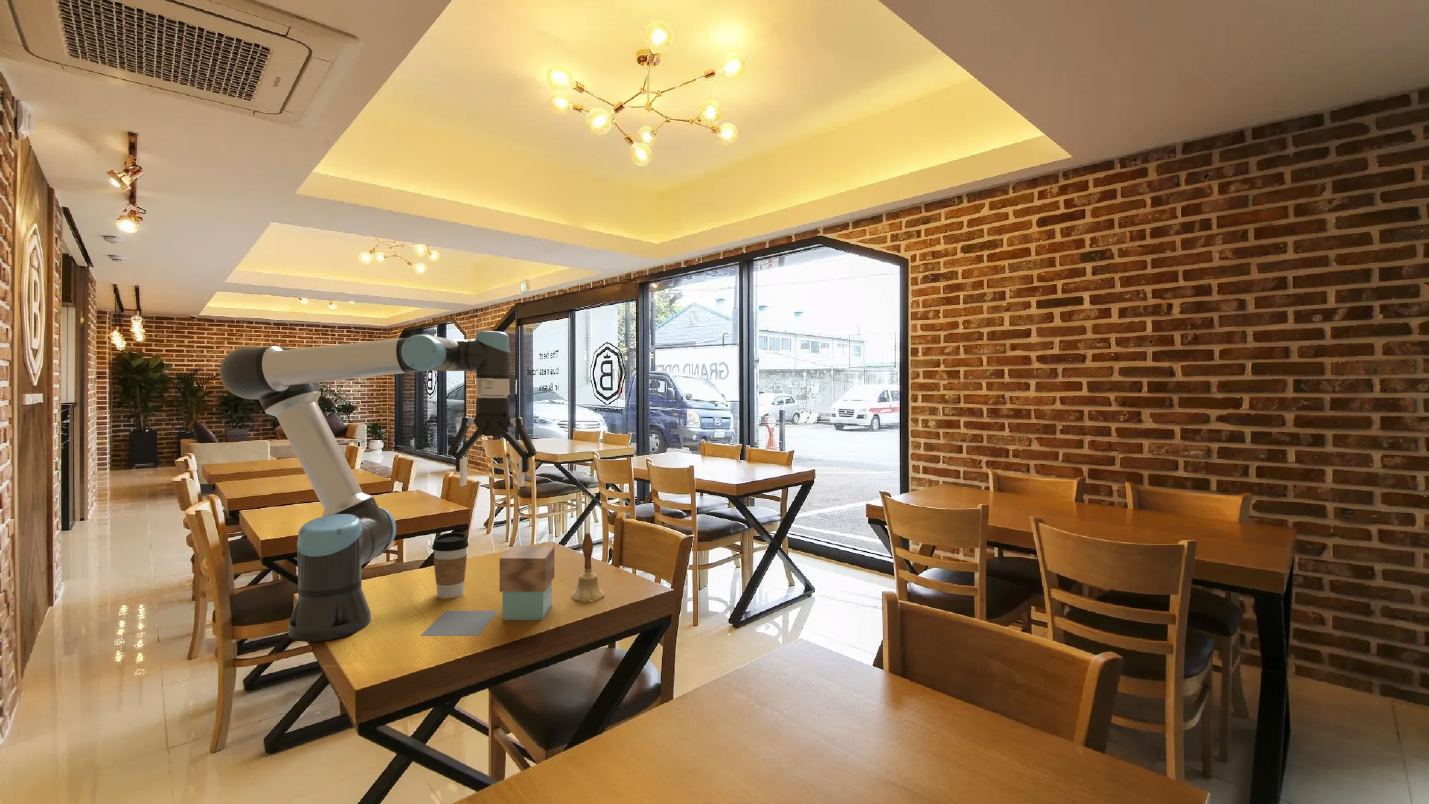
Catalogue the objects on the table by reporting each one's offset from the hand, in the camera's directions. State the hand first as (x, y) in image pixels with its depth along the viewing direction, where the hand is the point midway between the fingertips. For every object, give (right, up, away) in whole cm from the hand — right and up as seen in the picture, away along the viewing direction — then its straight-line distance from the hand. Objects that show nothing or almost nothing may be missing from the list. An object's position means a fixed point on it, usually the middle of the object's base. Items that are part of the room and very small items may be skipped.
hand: (492, 485), depth 149 cm
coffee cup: (-13, -28, +7) cm, 32 cm away
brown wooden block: (+10, -22, -5) cm, 25 cm away
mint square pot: (+10, -29, -4) cm, 31 cm away
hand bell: (+21, -29, +8) cm, 37 cm away
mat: (-3, -29, -11) cm, 31 cm away
